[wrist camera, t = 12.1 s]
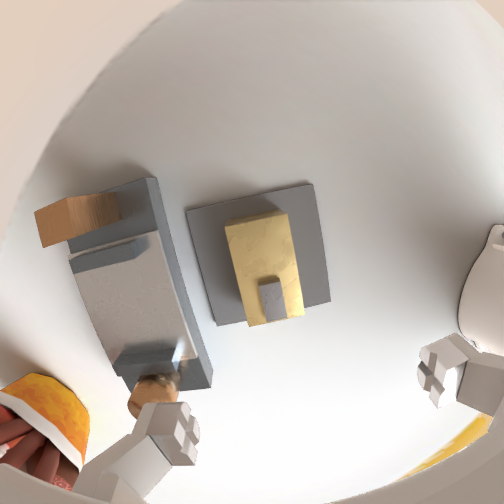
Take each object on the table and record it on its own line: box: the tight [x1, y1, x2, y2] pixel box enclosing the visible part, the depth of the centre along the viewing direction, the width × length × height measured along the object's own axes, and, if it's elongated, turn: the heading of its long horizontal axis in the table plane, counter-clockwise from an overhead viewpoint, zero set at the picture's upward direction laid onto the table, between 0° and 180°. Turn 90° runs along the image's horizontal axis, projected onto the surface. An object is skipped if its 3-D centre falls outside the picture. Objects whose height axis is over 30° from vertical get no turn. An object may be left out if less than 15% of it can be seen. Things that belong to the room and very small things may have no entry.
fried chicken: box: [0, 373, 90, 491], centre depth 20 cm, size 20×16×20 cm
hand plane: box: [34, 178, 213, 419], centre depth 21 cm, size 20×9×10 cm, turn 12°
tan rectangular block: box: [225, 209, 305, 327], centre depth 22 cm, size 8×4×5 cm, turn 12°
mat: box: [186, 184, 331, 326], centre depth 25 cm, size 11×11×1 cm
